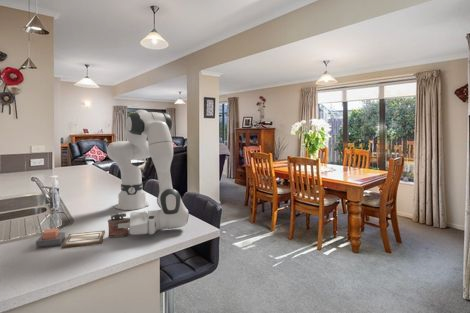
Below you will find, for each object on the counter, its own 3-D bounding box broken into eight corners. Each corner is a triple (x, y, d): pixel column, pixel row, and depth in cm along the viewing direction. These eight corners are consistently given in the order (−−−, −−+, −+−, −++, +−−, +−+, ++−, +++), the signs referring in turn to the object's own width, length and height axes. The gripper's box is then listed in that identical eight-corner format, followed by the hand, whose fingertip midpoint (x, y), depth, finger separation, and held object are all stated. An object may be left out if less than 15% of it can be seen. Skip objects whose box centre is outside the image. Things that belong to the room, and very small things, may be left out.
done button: (46, 236, 114) (45, 229, 114) (58, 235, 116) (58, 228, 115) (43, 240, 110) (42, 233, 110) (55, 239, 112) (55, 231, 111)
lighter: (107, 238, 119) (106, 215, 118) (109, 235, 122) (108, 213, 121) (128, 236, 121) (127, 214, 120) (128, 234, 124) (128, 211, 123)
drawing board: (69, 236, 121) (69, 233, 121) (104, 232, 125) (104, 229, 125) (61, 248, 109) (61, 245, 108) (101, 243, 113) (101, 241, 113)
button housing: (42, 241, 116) (42, 234, 115) (65, 238, 118) (64, 231, 118) (36, 249, 108) (35, 241, 108) (60, 246, 111) (59, 238, 110)
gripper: (150, 207, 135) (119, 209, 130) (152, 220, 115) (116, 224, 111) (150, 220, 135) (120, 223, 131) (153, 235, 116) (117, 239, 112)
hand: (118, 223), depth 121 cm, fingers closed on lighter, 3 cm apart
